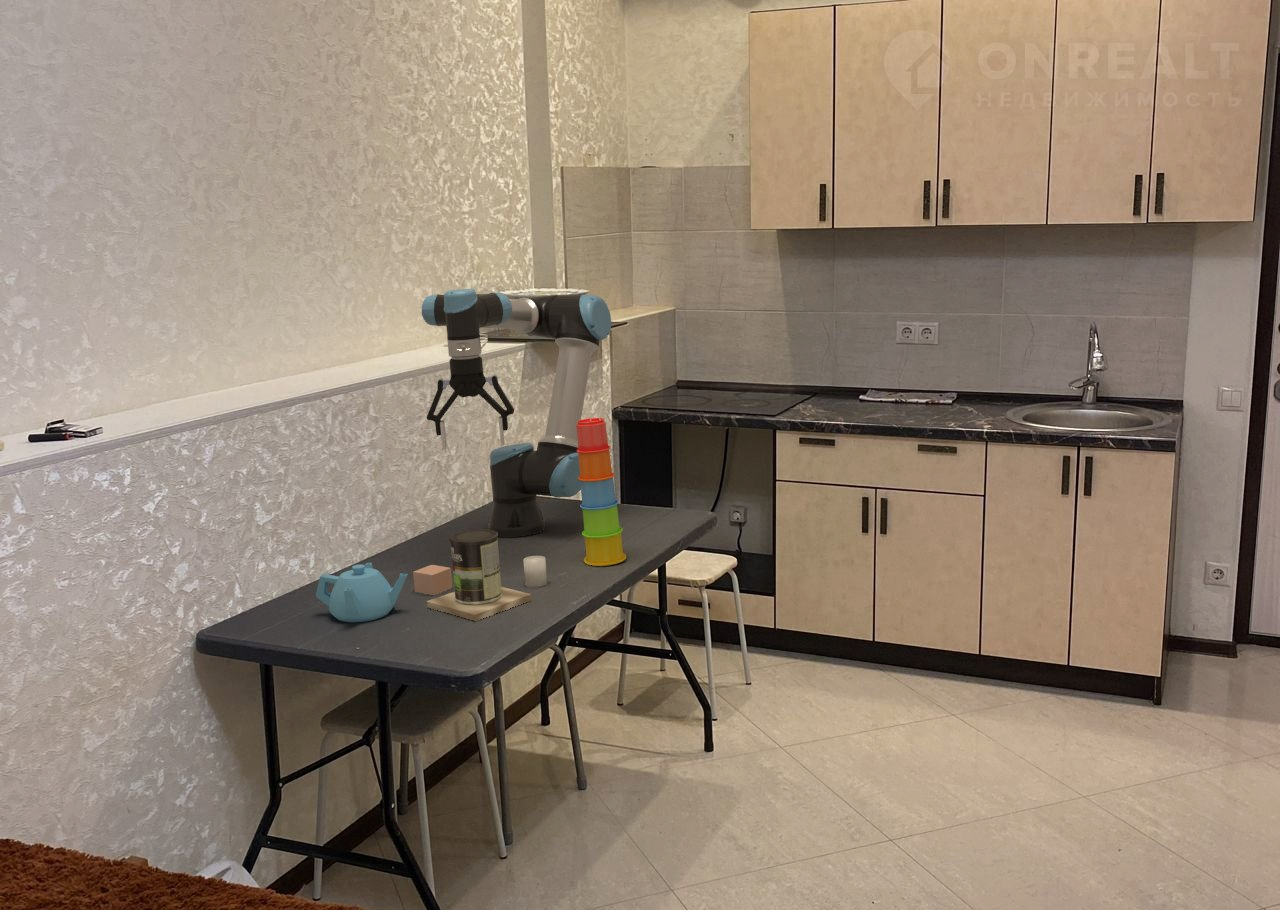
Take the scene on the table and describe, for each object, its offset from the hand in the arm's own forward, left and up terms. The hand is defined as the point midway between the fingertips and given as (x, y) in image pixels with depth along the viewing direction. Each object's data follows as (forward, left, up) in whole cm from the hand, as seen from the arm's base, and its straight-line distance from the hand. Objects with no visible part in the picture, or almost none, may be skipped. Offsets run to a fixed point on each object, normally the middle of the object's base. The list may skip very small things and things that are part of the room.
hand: (473, 446), depth 275 cm
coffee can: (+18, +20, -29) cm, 39 cm away
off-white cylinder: (+1, +20, -30) cm, 36 cm away
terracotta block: (+18, +3, -30) cm, 35 cm away
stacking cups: (-21, +21, -30) cm, 42 cm away
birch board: (+18, +20, -30) cm, 40 cm away
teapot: (+36, +3, -30) cm, 47 cm away
